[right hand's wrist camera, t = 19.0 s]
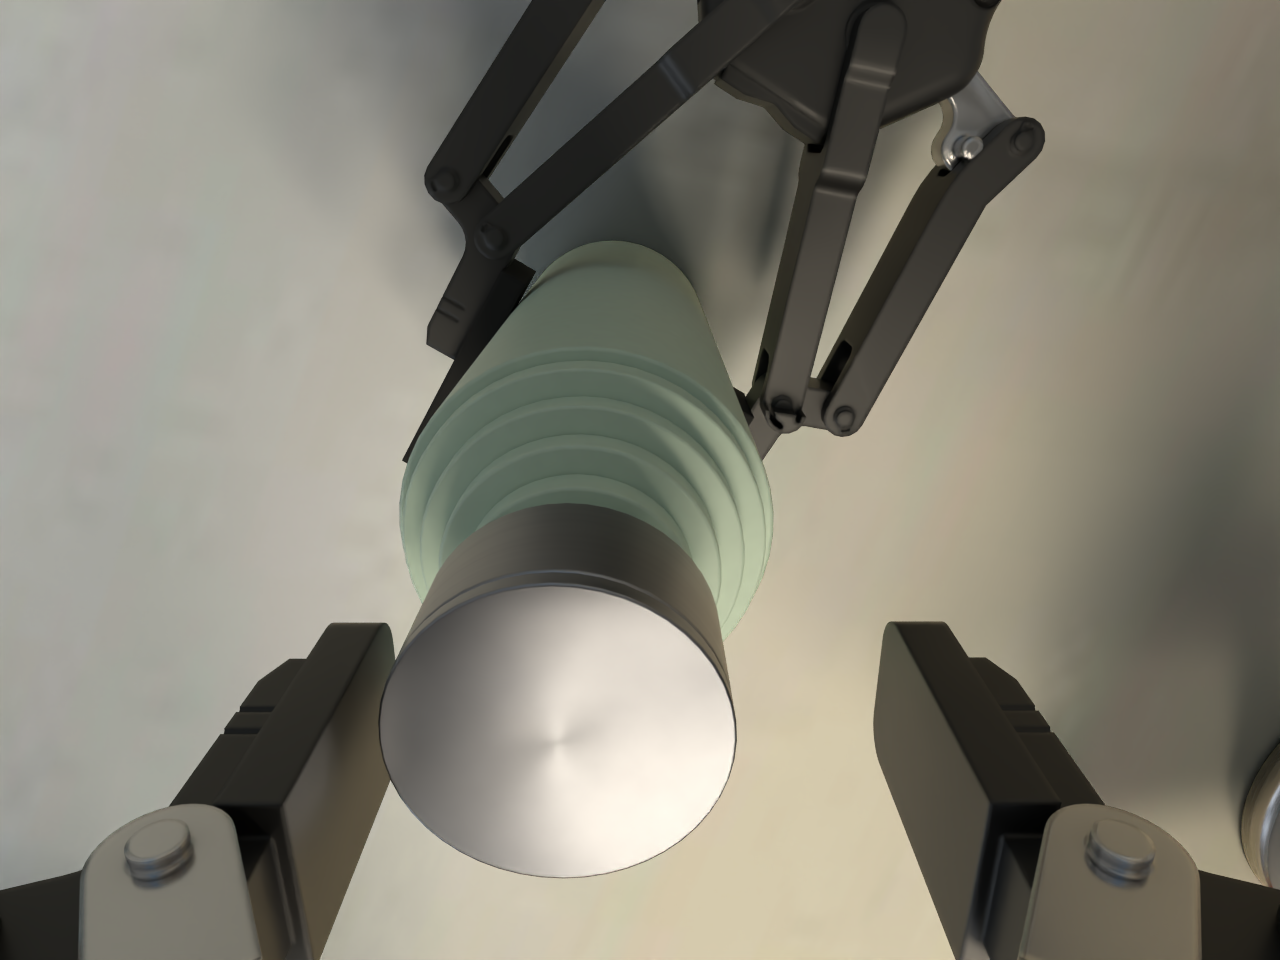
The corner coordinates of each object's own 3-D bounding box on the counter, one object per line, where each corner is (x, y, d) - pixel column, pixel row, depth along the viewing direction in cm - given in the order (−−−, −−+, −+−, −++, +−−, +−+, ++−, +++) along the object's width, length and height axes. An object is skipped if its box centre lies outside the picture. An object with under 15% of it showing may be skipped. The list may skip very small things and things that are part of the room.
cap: (409, 501, 12) (356, 583, 9) (724, 500, 12) (745, 582, 9) (437, 757, 13) (396, 879, 11) (714, 757, 13) (730, 879, 11)
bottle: (667, 211, 31) (736, 365, 9) (728, 385, 33) (903, 843, 11) (491, 281, 32) (169, 576, 10) (564, 445, 34) (431, 978, 12)
